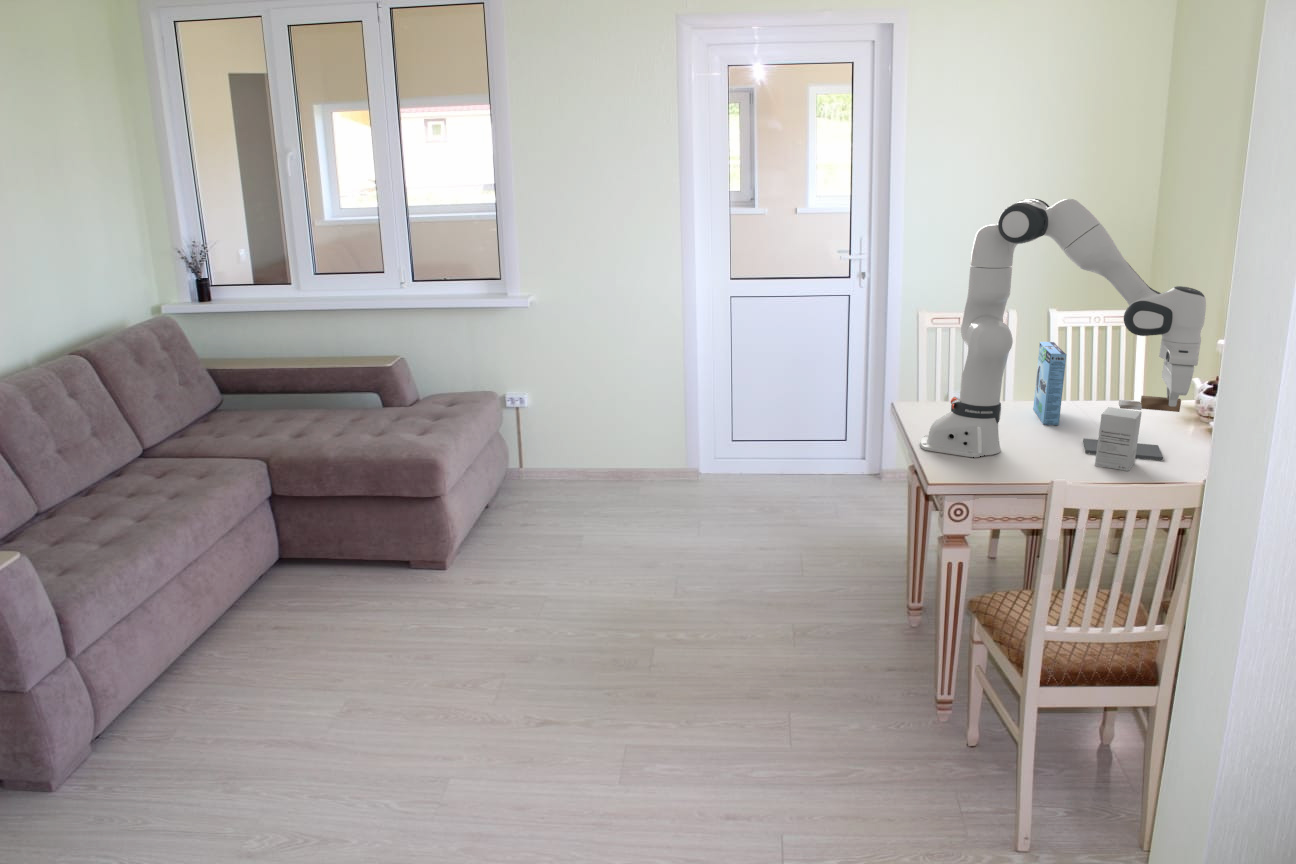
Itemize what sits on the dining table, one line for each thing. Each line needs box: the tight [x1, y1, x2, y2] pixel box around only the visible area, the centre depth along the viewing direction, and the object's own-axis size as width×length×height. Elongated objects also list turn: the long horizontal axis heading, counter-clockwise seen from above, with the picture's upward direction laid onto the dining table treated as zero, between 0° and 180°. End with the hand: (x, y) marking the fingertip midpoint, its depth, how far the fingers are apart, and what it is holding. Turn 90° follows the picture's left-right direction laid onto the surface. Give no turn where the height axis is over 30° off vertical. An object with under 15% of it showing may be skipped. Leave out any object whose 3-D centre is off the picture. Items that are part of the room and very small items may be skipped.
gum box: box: [1032, 341, 1067, 426], centre depth 317 cm, size 20×5×23 cm, turn 168°
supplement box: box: [1094, 406, 1143, 472], centre depth 272 cm, size 9×9×15 cm
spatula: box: [1118, 395, 1182, 413], centre depth 257 cm, size 14×5×3 cm, turn 70°
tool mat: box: [1082, 438, 1164, 461], centre depth 286 cm, size 20×12×1 cm, turn 70°
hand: (1170, 404), depth 255 cm, fingers closed on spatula, 2 cm apart
